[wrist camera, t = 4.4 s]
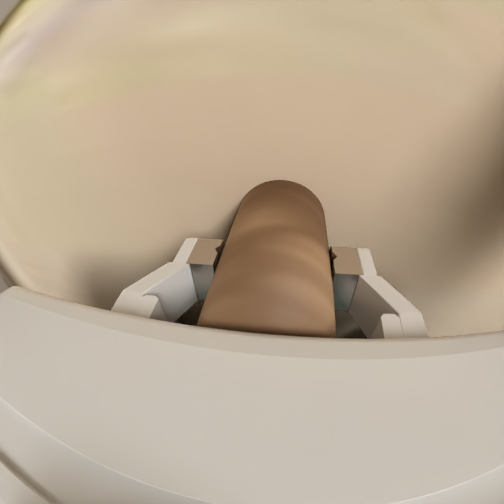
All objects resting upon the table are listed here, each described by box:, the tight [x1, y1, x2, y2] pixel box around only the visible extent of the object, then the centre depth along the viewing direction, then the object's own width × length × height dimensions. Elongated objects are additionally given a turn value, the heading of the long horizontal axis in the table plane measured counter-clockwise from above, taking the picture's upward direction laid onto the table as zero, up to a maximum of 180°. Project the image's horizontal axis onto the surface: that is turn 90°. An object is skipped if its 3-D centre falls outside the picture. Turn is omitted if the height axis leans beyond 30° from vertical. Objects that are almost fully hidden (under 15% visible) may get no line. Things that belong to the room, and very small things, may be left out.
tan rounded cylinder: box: [196, 180, 336, 338], centre depth 10 cm, size 4×4×7 cm
